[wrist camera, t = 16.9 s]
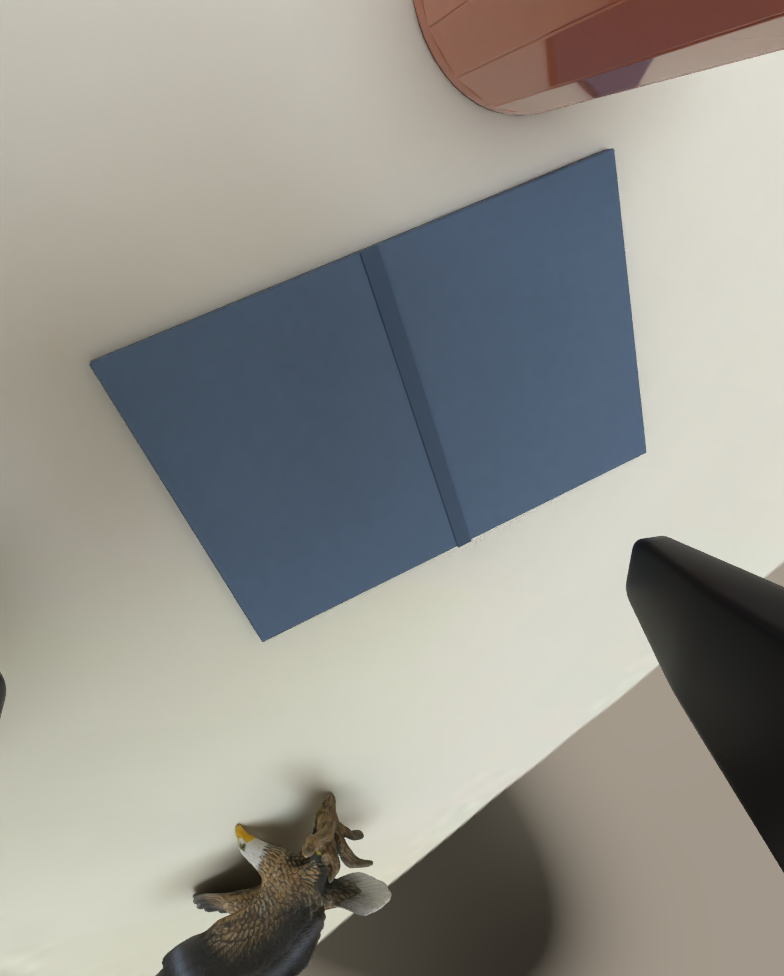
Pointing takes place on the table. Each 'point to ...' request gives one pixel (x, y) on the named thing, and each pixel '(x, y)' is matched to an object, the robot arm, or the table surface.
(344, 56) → the table surface
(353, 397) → the napkin
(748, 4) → the pencil cup
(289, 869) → the eagle figurine
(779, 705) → the robot arm
